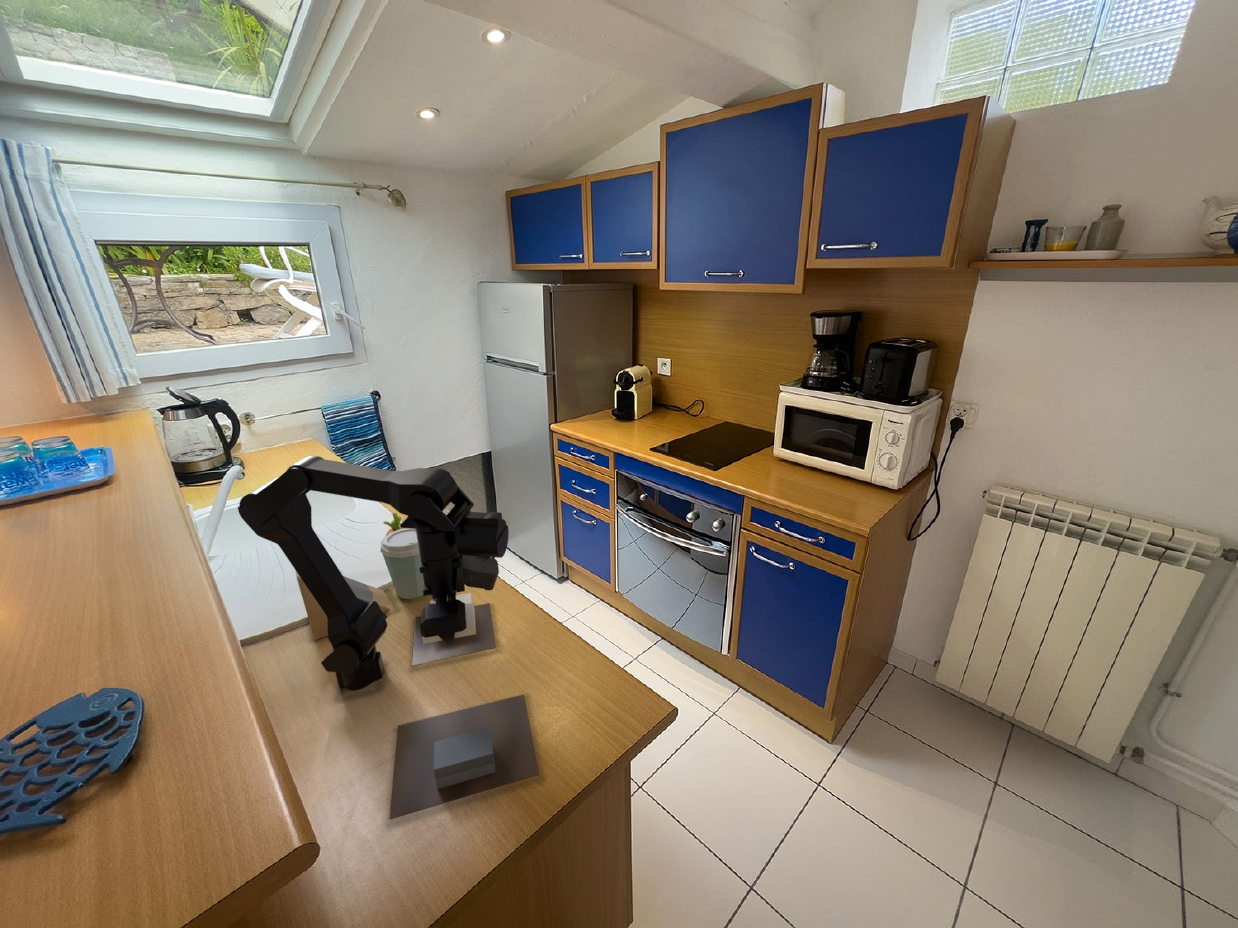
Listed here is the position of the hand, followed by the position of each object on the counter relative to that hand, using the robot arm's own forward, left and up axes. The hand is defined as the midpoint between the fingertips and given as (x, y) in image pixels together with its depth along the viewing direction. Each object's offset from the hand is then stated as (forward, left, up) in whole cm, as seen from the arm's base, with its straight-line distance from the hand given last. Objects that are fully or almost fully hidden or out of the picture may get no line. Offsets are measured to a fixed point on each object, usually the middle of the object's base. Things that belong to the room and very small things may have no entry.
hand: (450, 631), depth 81 cm
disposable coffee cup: (-8, +31, -13) cm, 35 cm away
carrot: (-11, +41, -13) cm, 45 cm away
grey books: (+1, -16, -12) cm, 20 cm away
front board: (+1, -13, -13) cm, 18 cm away
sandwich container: (-20, +27, -13) cm, 36 cm away
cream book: (0, 0, +1) cm, 1 cm away
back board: (0, +14, -13) cm, 19 cm away
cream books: (0, +17, -12) cm, 21 cm away
